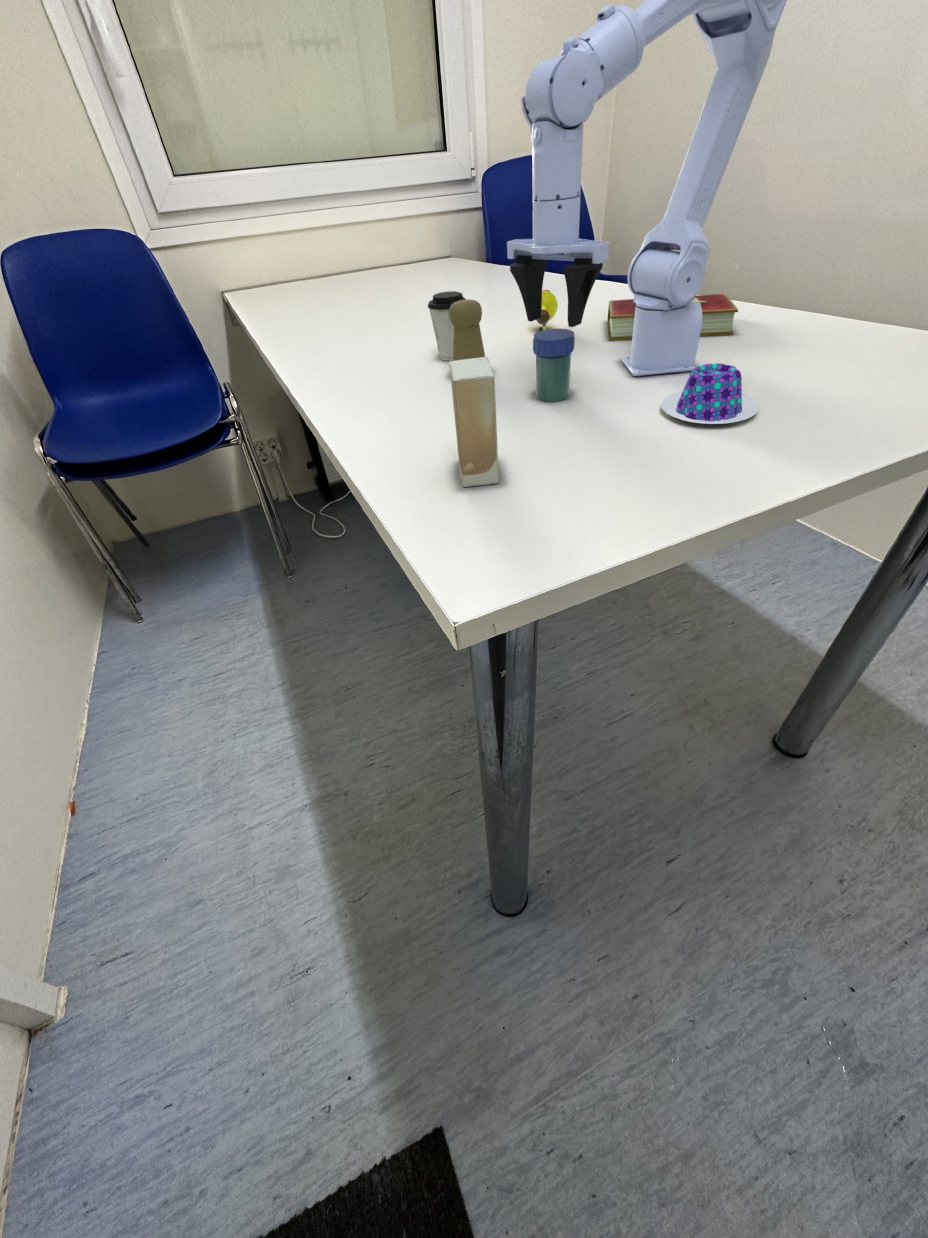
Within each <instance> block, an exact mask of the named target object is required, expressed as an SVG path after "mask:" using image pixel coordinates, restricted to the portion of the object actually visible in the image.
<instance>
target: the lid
mask: <svg viewBox="0 0 928 1238" xmlns="http://www.w3.org/2000/svg"><path fill="white" fill-rule="evenodd" d="M532 336H533V338H532V352H533V354H534V355H535V356H536V355H537V356H541V357H560V356H565V355H568V354H570V353H571V354H572V353H573V352H574V350H575V341H576V340H575V339H576V336H575V332H574V331H573V330H571V329H567V328H546V330H542V331H539V330H538V331H537V332H535V333H533V335H532Z"/></svg>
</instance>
